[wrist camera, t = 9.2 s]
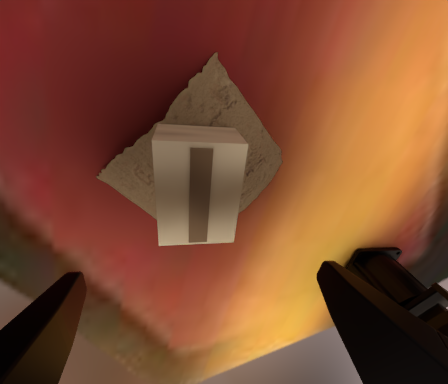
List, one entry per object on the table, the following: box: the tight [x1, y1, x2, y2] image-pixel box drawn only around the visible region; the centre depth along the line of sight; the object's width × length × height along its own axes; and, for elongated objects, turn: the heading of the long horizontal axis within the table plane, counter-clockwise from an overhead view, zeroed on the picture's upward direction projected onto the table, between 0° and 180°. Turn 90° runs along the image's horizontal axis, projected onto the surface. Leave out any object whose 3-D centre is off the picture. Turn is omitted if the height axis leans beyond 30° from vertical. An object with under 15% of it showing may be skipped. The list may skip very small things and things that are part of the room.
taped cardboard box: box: [152, 124, 248, 246], centre depth 15 cm, size 7×5×4 cm
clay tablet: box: [96, 52, 282, 220], centre depth 17 cm, size 14×10×3 cm
